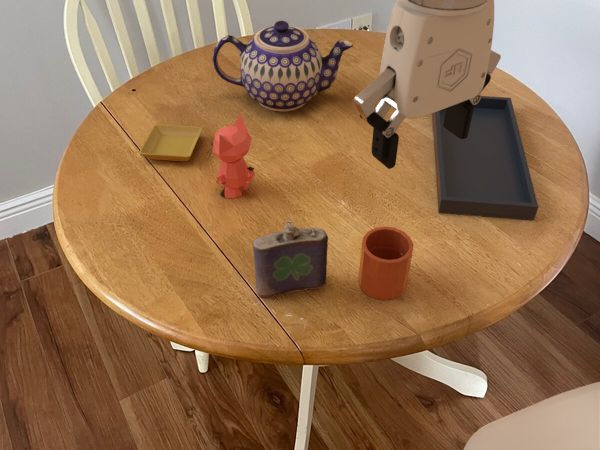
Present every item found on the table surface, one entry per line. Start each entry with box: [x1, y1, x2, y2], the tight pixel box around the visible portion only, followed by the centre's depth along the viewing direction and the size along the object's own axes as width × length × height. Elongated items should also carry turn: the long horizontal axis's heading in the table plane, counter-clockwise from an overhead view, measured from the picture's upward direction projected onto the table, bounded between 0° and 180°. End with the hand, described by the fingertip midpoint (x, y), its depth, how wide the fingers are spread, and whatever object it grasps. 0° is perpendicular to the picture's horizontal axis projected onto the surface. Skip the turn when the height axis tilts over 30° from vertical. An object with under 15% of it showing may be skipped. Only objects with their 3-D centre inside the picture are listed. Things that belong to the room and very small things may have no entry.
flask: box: [252, 219, 329, 298], centre depth 72 cm, size 9×3×11 cm, turn 103°
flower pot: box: [358, 226, 414, 301], centre depth 74 cm, size 6×6×7 cm
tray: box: [431, 95, 539, 221], centre depth 95 cm, size 30×14×3 cm, turn 173°
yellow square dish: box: [138, 123, 204, 162], centre depth 97 cm, size 9×9×2 cm
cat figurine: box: [206, 113, 256, 199], centre depth 86 cm, size 7×7×12 cm
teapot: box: [211, 20, 354, 112], centre depth 105 cm, size 25×15×15 cm, turn 85°
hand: (419, 146), depth 62 cm, fingers open, 9 cm apart
